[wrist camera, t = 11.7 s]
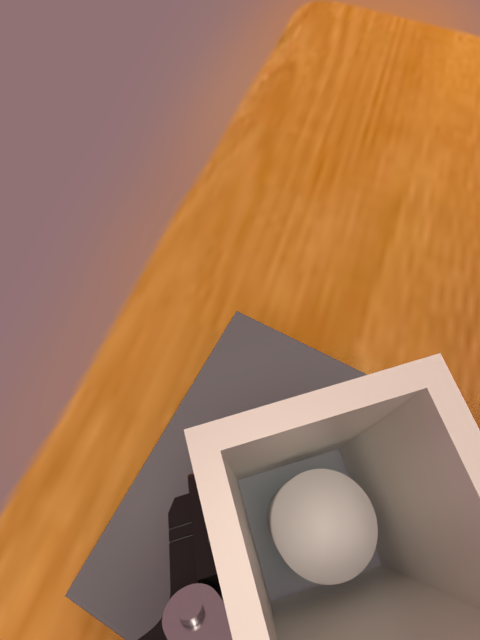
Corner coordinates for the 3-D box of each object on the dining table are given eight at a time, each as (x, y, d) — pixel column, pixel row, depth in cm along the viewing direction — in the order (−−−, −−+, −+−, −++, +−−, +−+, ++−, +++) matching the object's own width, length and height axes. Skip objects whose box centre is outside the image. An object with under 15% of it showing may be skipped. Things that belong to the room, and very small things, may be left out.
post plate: (237, 319, 23) (230, 244, 16) (506, 451, 20) (629, 424, 13) (74, 591, 18) (-26, 638, 11) (395, 820, 15) (504, 1060, 8)
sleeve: (219, 470, 18) (183, 429, 9) (347, 430, 18) (440, 353, 9) (260, 626, 16) (268, 795, 6) (403, 577, 16) (600, 669, 7)
